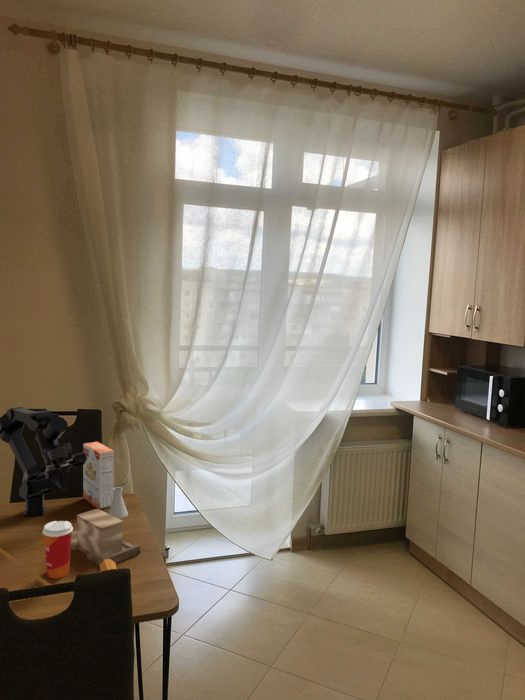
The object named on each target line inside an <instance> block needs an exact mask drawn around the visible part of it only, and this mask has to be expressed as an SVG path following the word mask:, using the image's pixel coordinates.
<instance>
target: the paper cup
mask: <svg viewBox="0 0 525 700" xmlns="http://www.w3.org/2000/svg"><path fill="white" fill-rule="evenodd" d="M73 531H74V527H73V525H72V523H71V522H70V521H68V520H65V521H64V520H58V521H57V520H54V521H53V520H52V521H50V522H48V523H46V524H45V525H44V526H43V530H42V531H41V532H42V533H41V534H42V535H43V542H44V544H43V545H44V557H45V558H44V559H45V570H46V571H45V572H46V576H47V577H48V578H50V579H61V578H63V577H65V576H67V575H69V573H70V566H71V564H70V563H71V550H72V549H71V535H72V532H73Z"/></svg>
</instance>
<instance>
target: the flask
mask: <svg viewBox="0 0 525 700" xmlns="http://www.w3.org/2000/svg"><path fill="white" fill-rule="evenodd" d="M123 489H124V488H123V487H122V486H121V487H120V486H119V487H118V486H117V487H114V488H113V491H114V496H113V501H112V504H111V507H110V506H109V510H108V514H110V515H112V516H114V517H116V518H118V519H120V520H122V519H124V518H126V517H127V516H129V512H128V510H127V507H126V504H125V501H124V499H123V494H122V493H123Z"/></svg>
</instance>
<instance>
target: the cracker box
mask: <svg viewBox="0 0 525 700" xmlns="http://www.w3.org/2000/svg"><path fill="white" fill-rule="evenodd" d="M82 446H83V447H82V448H83V449H82V452H84V453H85V454H86V456H87V458H88V459H87V460H86V462H85V464H84V465H82V467H83V468H82V470H83V471H82V474H83V475H82V478H83V480H82V481H83V482H82V483H83V486H82V487H83V488H82V490H83V491H82V493H83V496H82V498H83V499H84V500H85V501H87V502H88V503H89V504H91V505H92V506H93V507H95V508H98V509H100V510H101V509H105V508H108V507H109V508H110V507H111V504H112V501H113V496H114V491H113V488H115V450H113V449H111V448H110V447H107V446H106V445H104V444H103V443H101V442H99V441H94V442H86V443H83V445H82Z"/></svg>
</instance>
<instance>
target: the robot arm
mask: <svg viewBox="0 0 525 700" xmlns="http://www.w3.org/2000/svg"><path fill="white" fill-rule="evenodd" d="M25 425H27V428H29V430H31V431H36V430H40V431H37V432H36V435H35V437H34V441H36V442H37V443H38V445H39V449H40V452H41V457H42V458H43V462H44V465H45V466H44V465H42V466H40V465H39V464H37V463H36V461H35V459H34V457H33V455H32V453H31V451H30V448H29V447H28V445H27V443H26V441H25V439H24V437H23V432H24V428H25ZM68 426H69V425H68V421H67V420H66V419H65V418H64V417H61V416H59V414H58V413H52V412H51V410H42V411H41V410H40V411H34V410H31V409H28V408H24V407H22V406H18V407H11V408H9V409H7V410H6V412H5V413H4V414H3V415H2V416H1V417H0V440H1V441H3V442H4V443H7V444H8V445H9V447H10V449H11V451H12V453H13V454H14V455H13V456H14V457H15V459H16V461H17V463H18V466H19V468H20V470H21V471H22V473H23V477H22V481H21V483H22V484H21V486H20V487H19V489H18V494H19V496H20V497H21V498H22V499H23V500H25V509H24V512H23V513H22V516H23V517H25V516H26V517H29V516H43V515H44V514H45V512H46V511H47V506H44V505H45V501H44V500H45V498H44V497H45V495H49V494H50V493H51V489H52V484H53V483H54V484H55V485H56V486H57V487H58V489H60V491H62V493H63V492H66V491H67V473H69V471H70V469H71V467H72V468H78V467H81V466H82V467H83V465H84V464H85V462H86V460H87V459H88V458H87V456H86V454H85V453H84V452H83V451H81V452H77V453H74V454H72V456H71V458H68V454H70V453H72V452H73V448H72V445H71V442H70V441H69V442H66V443H63V444H62V446H61V444H60V443H59V442H58V439H60V438H61V437H62V435H63V434H64V433H65V432H66V431H67V429H68ZM66 458H68V459H66ZM65 459H66V460H65ZM58 469H59V471H58Z"/></svg>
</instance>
